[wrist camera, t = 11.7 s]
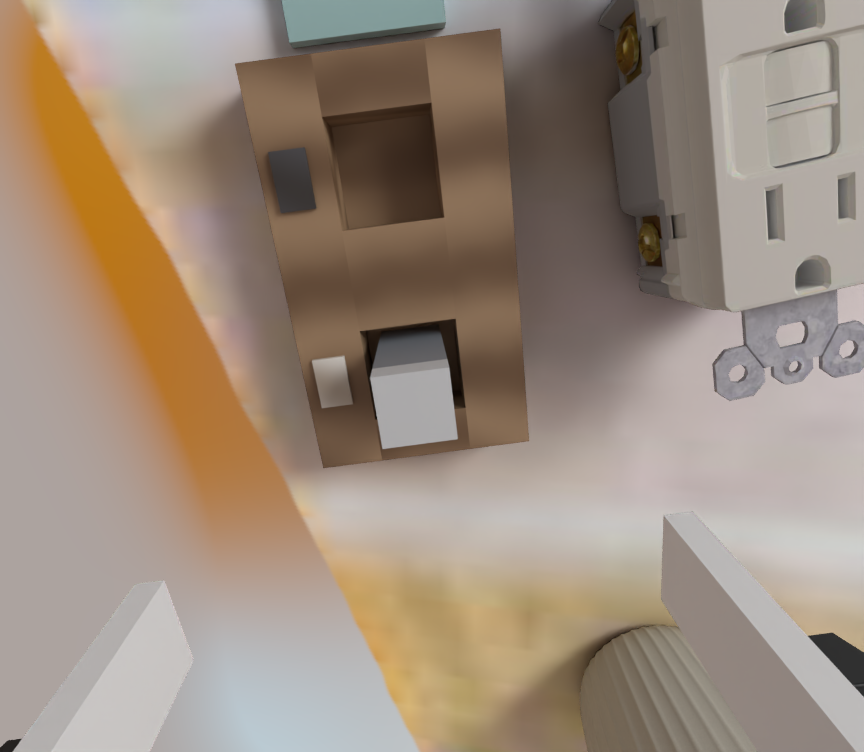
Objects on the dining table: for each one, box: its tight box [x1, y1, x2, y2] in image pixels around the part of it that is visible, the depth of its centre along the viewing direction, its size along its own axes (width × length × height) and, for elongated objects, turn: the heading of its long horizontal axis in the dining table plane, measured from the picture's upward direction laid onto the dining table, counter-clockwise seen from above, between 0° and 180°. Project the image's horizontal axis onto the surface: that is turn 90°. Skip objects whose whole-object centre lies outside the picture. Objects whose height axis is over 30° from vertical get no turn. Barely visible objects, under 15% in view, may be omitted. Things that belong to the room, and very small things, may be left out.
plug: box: [370, 324, 458, 449], centre depth 30 cm, size 4×4×10 cm
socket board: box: [235, 29, 529, 468], centre depth 32 cm, size 24×14×4 cm, turn 7°
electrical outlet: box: [598, 0, 864, 401], centre depth 28 cm, size 12×28×10 cm, turn 13°
